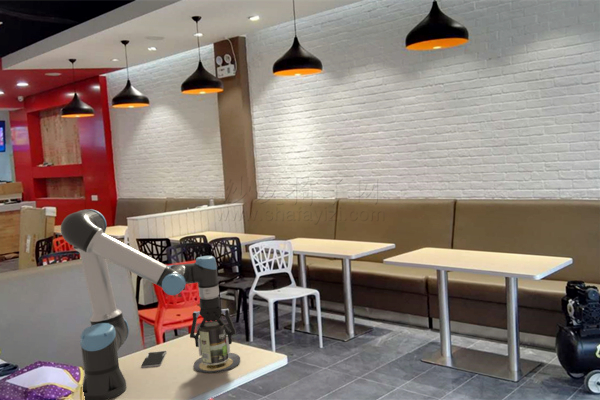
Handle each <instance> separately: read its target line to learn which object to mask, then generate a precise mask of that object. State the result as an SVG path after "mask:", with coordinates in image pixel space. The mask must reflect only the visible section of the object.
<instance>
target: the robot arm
mask: <svg viewBox="0 0 600 400" xmlns="http://www.w3.org/2000/svg"><path fill="white" fill-rule="evenodd" d="M107 225H108V224H107V220H106V218H105V216H104V215H103V214H102V213H101V212H99V211H98V210H95V209H93V208H91V209H89V208H88V209H82V210H78V211H75V212H72V213H70V214H68V215H66V217H64V219H63V221H62V222H61V225H60V232H61V235H62V238H63V240H64V241H65V242H67V243H68V244H69V245H72V246H73V249H74V250H75V251H76V252H78V253H79V256H80V261H81V266H82V270H83V273H84V274H83V275H84V279H85V283H86V287H87V292H88V298H89V301H90V306H91V311H92V316H91V317H90V318H89V321H90V326H88V327H86V328H84V329H83V330H82V331H81V333H80V341H79V343H80V347H81V349H80V350H81V356H82V363H83V372H84V377H83V382H82V385H83V392H84V396H85V400H109V399H113V398H115V397H117V396H120V395H121V394H123V393H124V392H125V391H126V390H127V380H126V379H125V376H124V374H123V373H122V371H121V369H120V364H119V354H118V351H119V350H120V348H121V347H122V346H123V345H124V344H125V342H126V341H127V339H128V336H129V332H130V326H129V324H128V321H127V320H126V318H124V315H123V312H122V310H121V309H119V308H118V307H117V304H116V299H115V294H114V289H113V284H112V280H111V276H110V271H109V266H108V261H109V262H110V263H113V264H116V265H117V266H118V267H121V268H123V269H125V270H127V271H129V272H131V273H133V274H135V275H136V276H139V277H140V278H143V279H145V280H147V281H148V282H150V283H152V284H155V285H156V286H158V287H160V288H162V291H163V292H164V293H165V294H166V295H169V296H176V295H179V294H180V293H181V292H182V291H184V289H185V288H186V285H189V284H197V285H198V286H197V287H198V296H199V306H200V307H199V308H200V309H199V311H196V310H193V312H192V323H191V329H190V334H189V337H190V339H194V342H195V347H196V348H198V354H199V357H202V353H201V344H200V333H199V328H198V329H197V331H196V328H197V327H196V325H197V322H198V318H199V316H200V317H202V318H203V319H202V321H201V323H200V324H199V325H200V327H203V326H204V324H205V322H210V321H217V322H218V323H219V324H220V325H224V322H225V321H224V320H223V319H222V316H221V314H222V313H223V315H224V316H225V319H226V321H227V325H228V326H229V327H228V326H227V325H226V326H225V333H226V343H227V354H228V353H231V345H232V343H233V337H232V336H233V335H235V334H236V332H237V330H236V328H235V325H234V323H233V319H232V318H231V315H230V309H229V308H224V309H223V308H222V307H221V301H220V300H221V299H220V296H219V295H220V288H219V279H218V267H217V262H216V261H217V260H216V258H215V257H214V256H213V255H203V256H198V257H196V258H195V262H192V263H183V264H182V263H181V264H172V265H167V264H164V263H163V262H160V261H158V260H156V259H155V258H153V257H150V256H149V255H147V254H145V253H144V252H141V251H139V250H138V249H135V248H133V247H131V246H130V245H127V244H126V243H124V242H121V240H118V239H116V238H114V237H112V236H110V235H108V234H106V230H107ZM195 331H196V333H195Z"/></svg>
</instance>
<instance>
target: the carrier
mask: <svg viewBox="0 0 600 400" xmlns="http://www.w3.org/2000/svg"><path fill="white" fill-rule="evenodd" d="M228 357H229V359H228V361H226V362H225V363H222V364H219V365H205V364H203V363H202V356H200V357H199V358H198V359H196V360H195V361H194V362H193V368H194V370H195V371H196V372H199V373H203V374H204V373H205V374H217V373H222V372H226V371H230V370H232V369H234V368H235V367H237V366H238V365H240V363H241V356H240V355H238V354H237V353H233V352H230V353H228Z"/></svg>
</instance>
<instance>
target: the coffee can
mask: <svg viewBox="0 0 600 400" xmlns="http://www.w3.org/2000/svg"><path fill="white" fill-rule="evenodd" d="M200 325H201V324H199V325H198V327H197V328H198V329H199V333H200V335H199V337H200V344H201V353H202V356H201V357H202V363H203V364H205V365H219V364H222V363H225V362H226V361H228V359H229V357H228V354H227V343H226V335H227V334H226V333H225V326H227V324H226V322H225V321H224V325H220V324H219V323H218V322H217V321H209V322H207V321H206V322H205V324H204V326H203V327H200Z"/></svg>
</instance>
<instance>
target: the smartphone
mask: <svg viewBox="0 0 600 400" xmlns="http://www.w3.org/2000/svg"><path fill="white" fill-rule="evenodd" d="M166 355H167V350H159V351H149V352H147V354H146V356H145V358H144V360H143V362H142V364H141V368H142V369H144V368H153V367H160V366H162V364H163V362H164V360H165V357H166Z"/></svg>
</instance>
